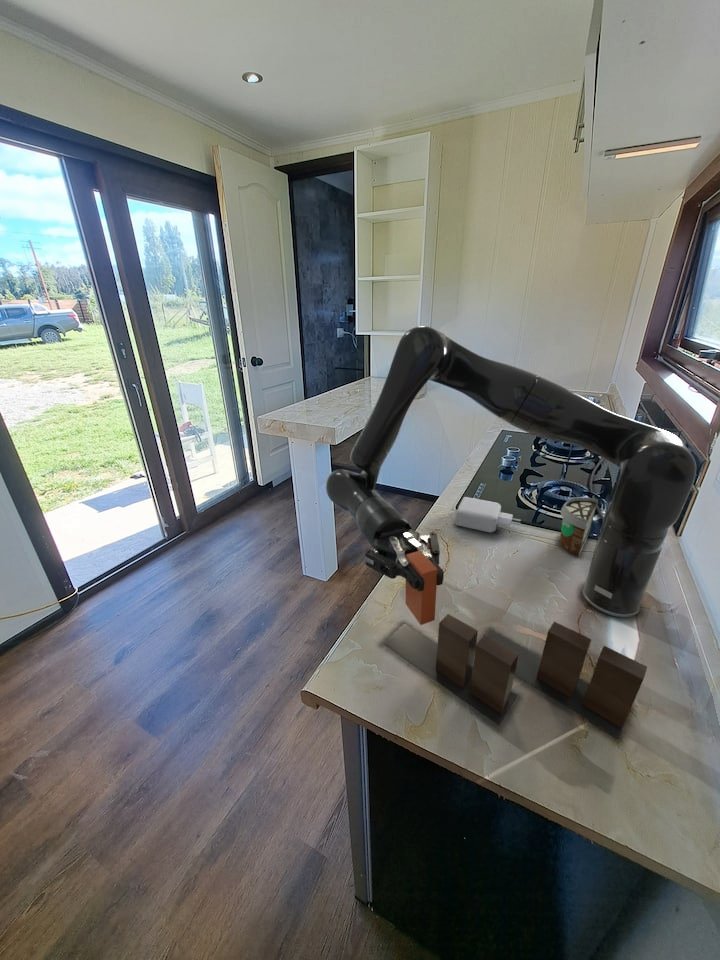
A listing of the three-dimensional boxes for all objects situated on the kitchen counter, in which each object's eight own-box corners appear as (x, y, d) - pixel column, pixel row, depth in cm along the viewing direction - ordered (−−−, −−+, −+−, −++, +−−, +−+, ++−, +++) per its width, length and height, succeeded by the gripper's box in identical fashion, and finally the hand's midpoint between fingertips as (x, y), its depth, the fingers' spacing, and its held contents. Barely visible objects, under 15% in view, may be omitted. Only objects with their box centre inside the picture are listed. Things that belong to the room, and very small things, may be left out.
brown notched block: (491, 630, 68) (498, 586, 64) (628, 707, 55) (650, 657, 50) (474, 652, 64) (481, 605, 60) (618, 740, 51) (640, 689, 47)
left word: (404, 624, 70) (405, 580, 66) (517, 696, 57) (527, 647, 52) (383, 644, 66) (382, 599, 62) (498, 727, 53) (508, 677, 49)
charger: (516, 540, 92) (454, 526, 99) (521, 521, 100) (463, 510, 106) (519, 523, 90) (456, 510, 96) (523, 505, 98) (464, 495, 104)
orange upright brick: (418, 599, 64) (420, 550, 59) (434, 620, 59) (437, 569, 55) (405, 603, 63) (406, 554, 59) (420, 625, 59) (422, 573, 54)
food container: (561, 526, 97) (570, 491, 93) (589, 534, 93) (598, 498, 89) (547, 549, 89) (555, 512, 84) (576, 559, 85) (586, 521, 81)
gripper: (344, 515, 66) (387, 576, 51) (415, 498, 70) (474, 549, 56) (346, 551, 69) (388, 617, 55) (414, 532, 74) (469, 589, 59)
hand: (431, 583), depth 55 cm, fingers closed on orange upright brick, 2 cm apart
